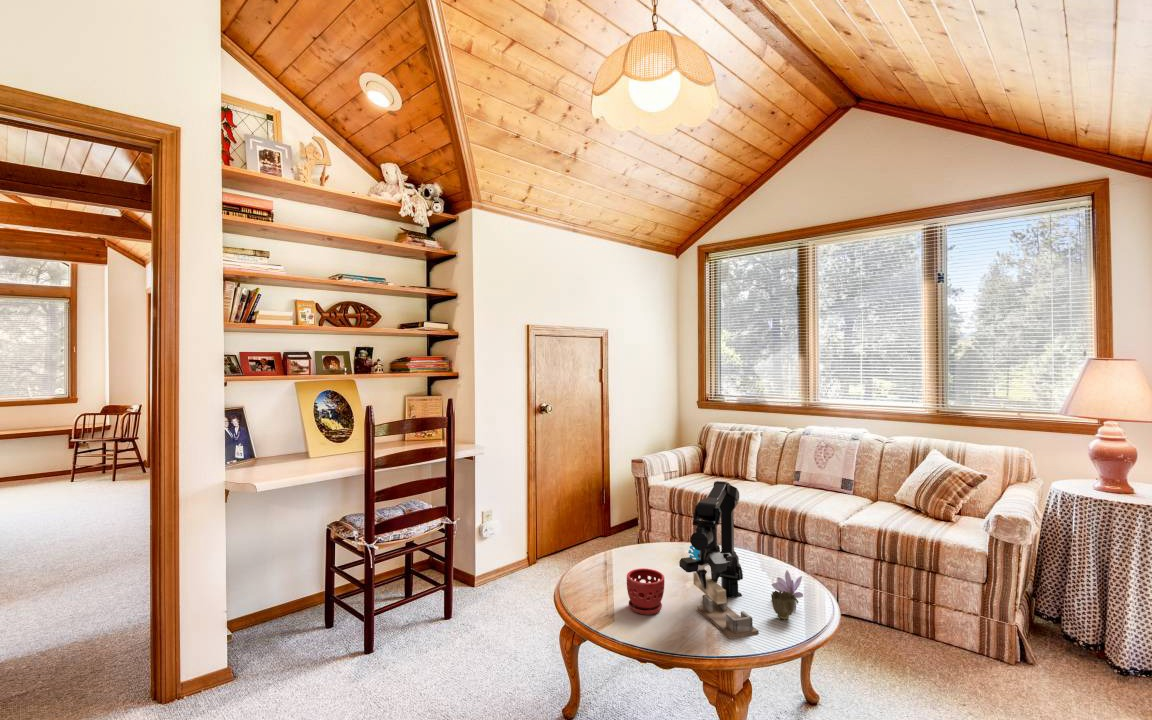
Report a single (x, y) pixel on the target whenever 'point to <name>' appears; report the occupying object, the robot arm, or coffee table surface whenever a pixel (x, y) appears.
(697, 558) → the gear
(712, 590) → the birch slat
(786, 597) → the cup
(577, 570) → the coffee table surface
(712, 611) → the end cap base
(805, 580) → the coffee table surface
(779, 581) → the water lily
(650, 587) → the plant pot
